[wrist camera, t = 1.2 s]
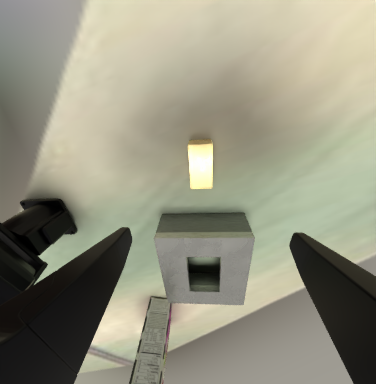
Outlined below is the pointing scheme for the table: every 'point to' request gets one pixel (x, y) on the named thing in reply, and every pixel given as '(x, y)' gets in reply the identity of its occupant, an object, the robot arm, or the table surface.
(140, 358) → the candy bar box
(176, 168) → the table surface
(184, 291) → the money box
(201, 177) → the tan wooden post
